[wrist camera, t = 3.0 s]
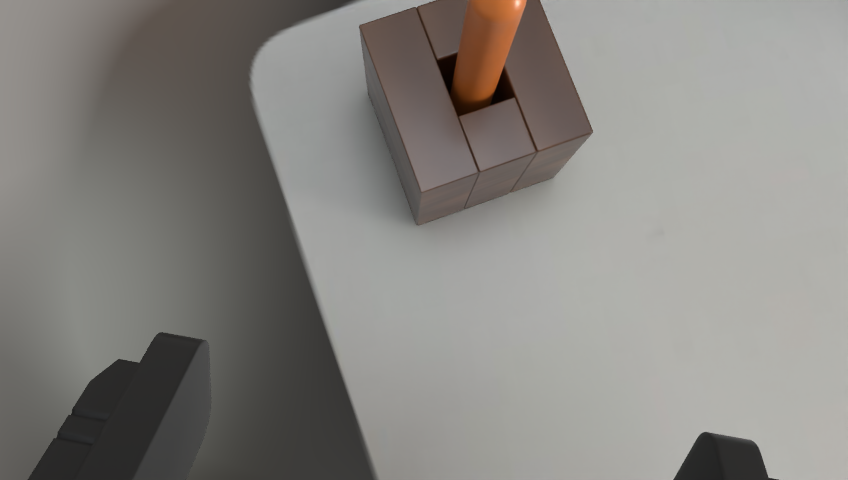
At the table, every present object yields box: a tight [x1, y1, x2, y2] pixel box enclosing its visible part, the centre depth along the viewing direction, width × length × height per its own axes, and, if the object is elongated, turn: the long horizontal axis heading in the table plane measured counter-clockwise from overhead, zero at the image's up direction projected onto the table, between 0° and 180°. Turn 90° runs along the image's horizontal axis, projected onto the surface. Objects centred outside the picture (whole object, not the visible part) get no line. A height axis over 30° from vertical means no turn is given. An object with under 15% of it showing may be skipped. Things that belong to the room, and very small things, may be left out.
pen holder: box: [359, 0, 593, 225], centre depth 30 cm, size 7×7×7 cm
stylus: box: [450, 0, 527, 117], centre depth 27 cm, size 2×2×14 cm
